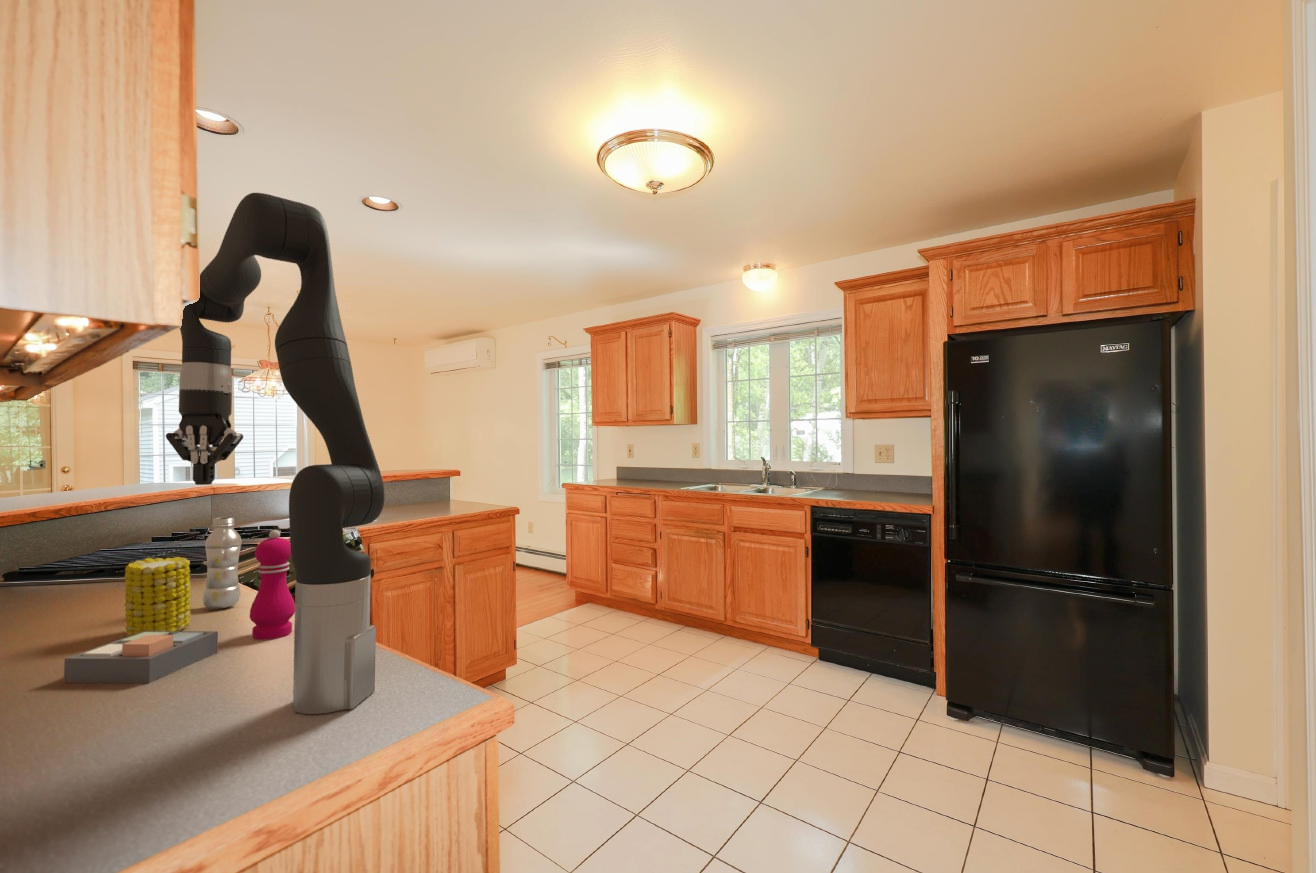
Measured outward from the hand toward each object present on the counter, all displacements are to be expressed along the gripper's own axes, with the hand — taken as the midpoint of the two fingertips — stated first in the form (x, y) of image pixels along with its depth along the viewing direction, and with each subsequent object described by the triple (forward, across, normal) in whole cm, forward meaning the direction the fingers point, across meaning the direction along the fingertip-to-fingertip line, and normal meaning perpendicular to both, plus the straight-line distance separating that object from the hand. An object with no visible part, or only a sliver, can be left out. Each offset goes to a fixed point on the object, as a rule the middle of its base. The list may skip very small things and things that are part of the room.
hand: (203, 484), depth 102 cm
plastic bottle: (+29, -15, +24) cm, 41 cm away
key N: (+28, -4, -13) cm, 31 cm away
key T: (+27, +2, -13) cm, 30 cm away
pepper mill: (+29, +9, +6) cm, 31 cm away
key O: (+28, +2, -7) cm, 29 cm away
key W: (+28, -4, -7) cm, 29 cm away
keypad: (+29, 0, -10) cm, 31 cm away
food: (+29, -14, +7) cm, 33 cm away
